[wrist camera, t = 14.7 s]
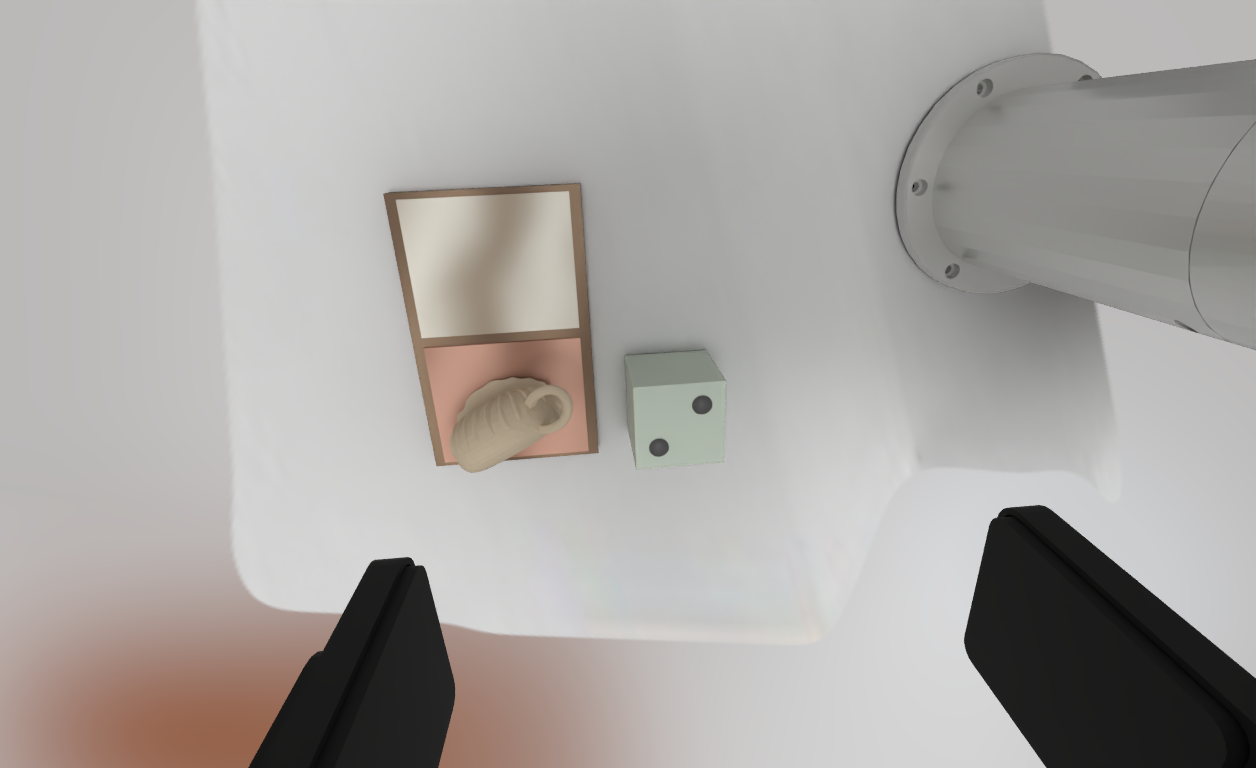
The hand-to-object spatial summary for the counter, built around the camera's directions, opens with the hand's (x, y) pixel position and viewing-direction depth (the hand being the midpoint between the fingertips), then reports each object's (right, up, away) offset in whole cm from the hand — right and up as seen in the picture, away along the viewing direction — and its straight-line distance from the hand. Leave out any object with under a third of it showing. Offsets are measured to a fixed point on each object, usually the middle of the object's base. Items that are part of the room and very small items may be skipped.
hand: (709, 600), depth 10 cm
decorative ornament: (-8, +2, +25) cm, 26 cm away
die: (+1, +3, +27) cm, 27 cm away
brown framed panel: (-9, +7, +24) cm, 26 cm away
